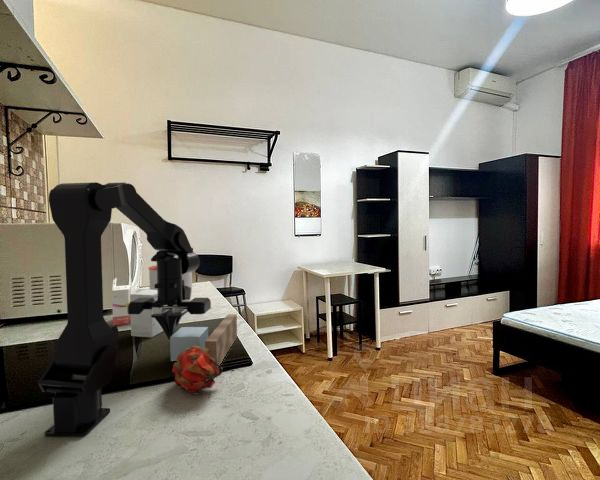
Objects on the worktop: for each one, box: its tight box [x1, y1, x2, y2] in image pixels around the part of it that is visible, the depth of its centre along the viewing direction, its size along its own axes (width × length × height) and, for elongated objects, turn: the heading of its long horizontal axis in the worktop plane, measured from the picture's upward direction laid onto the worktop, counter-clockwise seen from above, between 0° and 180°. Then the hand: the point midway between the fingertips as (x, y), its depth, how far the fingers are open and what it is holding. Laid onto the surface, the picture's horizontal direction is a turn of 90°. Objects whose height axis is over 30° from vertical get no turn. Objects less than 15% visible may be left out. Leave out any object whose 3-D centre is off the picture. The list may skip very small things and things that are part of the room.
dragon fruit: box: [171, 346, 224, 396], centre depth 61 cm, size 8×8×12 cm
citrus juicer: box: [148, 265, 193, 306], centre depth 117 cm, size 16×17×20 cm
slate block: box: [169, 326, 210, 363], centre depth 75 cm, size 7×7×6 cm
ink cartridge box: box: [111, 277, 132, 326], centre depth 103 cm, size 9×5×15 cm, turn 25°
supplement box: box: [130, 289, 167, 338], centre depth 91 cm, size 7×7×13 cm
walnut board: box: [205, 313, 238, 368], centre depth 77 cm, size 20×2×7 cm, turn 179°
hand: (171, 339), depth 75 cm, fingers closed
